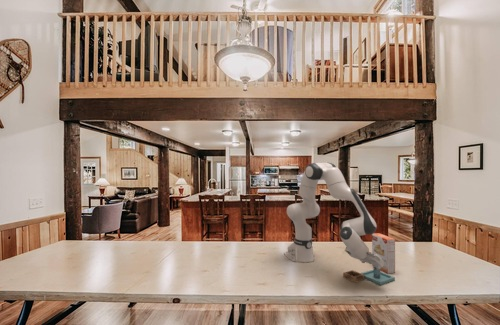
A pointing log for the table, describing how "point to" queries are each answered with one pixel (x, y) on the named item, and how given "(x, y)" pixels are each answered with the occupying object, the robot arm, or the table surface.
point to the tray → (383, 279)
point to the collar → (351, 275)
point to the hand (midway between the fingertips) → (371, 264)
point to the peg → (376, 272)
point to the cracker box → (384, 251)
